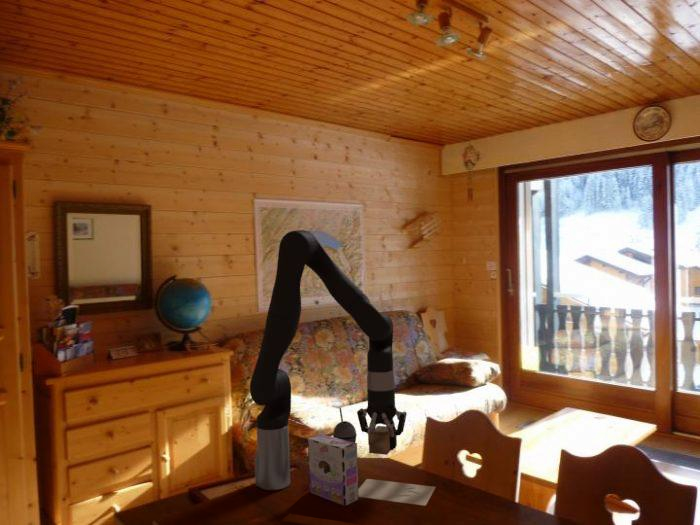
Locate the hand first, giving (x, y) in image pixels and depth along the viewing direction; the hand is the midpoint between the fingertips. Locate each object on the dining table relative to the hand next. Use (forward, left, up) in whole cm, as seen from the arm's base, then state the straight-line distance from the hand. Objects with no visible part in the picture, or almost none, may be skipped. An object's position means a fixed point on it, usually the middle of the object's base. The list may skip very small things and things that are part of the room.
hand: (382, 448), depth 150 cm
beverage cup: (-16, +12, -13) cm, 24 cm away
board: (+3, 0, -13) cm, 13 cm away
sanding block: (0, 0, 0) cm, 0 cm away
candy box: (-12, -7, -13) cm, 19 cm away
